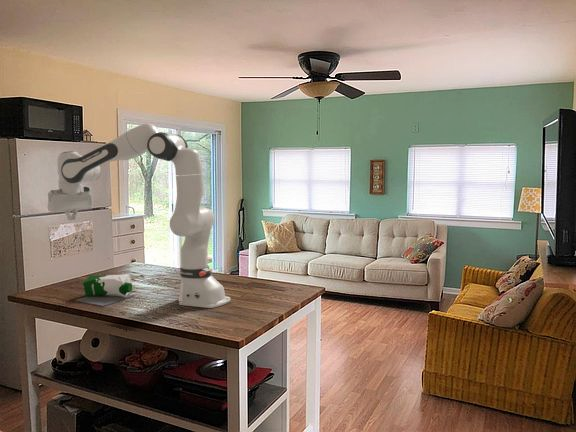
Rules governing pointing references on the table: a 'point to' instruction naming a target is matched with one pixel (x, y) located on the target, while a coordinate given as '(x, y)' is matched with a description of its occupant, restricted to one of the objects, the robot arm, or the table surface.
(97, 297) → the mat
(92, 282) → the soya milk
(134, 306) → the table surface
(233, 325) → the table surface
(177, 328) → the table surface
